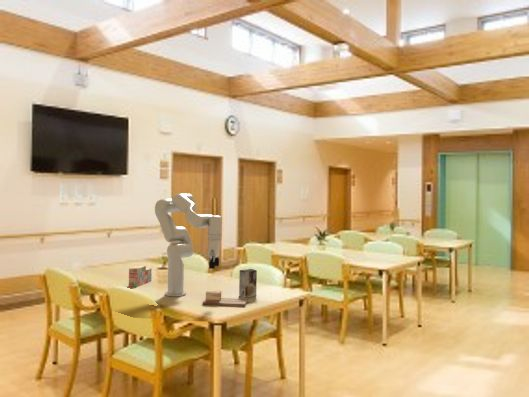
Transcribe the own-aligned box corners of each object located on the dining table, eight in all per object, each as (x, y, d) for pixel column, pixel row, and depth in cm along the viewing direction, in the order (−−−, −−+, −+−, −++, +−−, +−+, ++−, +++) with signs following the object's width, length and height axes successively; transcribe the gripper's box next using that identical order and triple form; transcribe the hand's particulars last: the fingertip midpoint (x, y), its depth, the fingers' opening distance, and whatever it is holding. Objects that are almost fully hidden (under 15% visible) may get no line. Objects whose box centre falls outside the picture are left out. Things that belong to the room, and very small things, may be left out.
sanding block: (207, 298, 272) (207, 290, 271) (221, 299, 271) (221, 290, 271) (205, 300, 267) (205, 292, 267) (219, 301, 266) (219, 292, 266)
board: (207, 299, 275) (207, 297, 275) (247, 301, 273) (247, 299, 273) (202, 304, 263) (202, 302, 263) (244, 306, 261) (244, 304, 261)
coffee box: (249, 294, 293) (250, 268, 293) (256, 296, 289) (257, 270, 288) (238, 296, 287) (239, 269, 287) (245, 298, 283) (245, 271, 282)
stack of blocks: (143, 280, 327) (143, 263, 327) (151, 281, 326) (152, 263, 326) (128, 286, 307) (128, 268, 306) (137, 287, 305) (137, 268, 305)
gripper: (212, 235, 276) (211, 264, 276) (204, 238, 259) (203, 269, 259) (224, 236, 275) (223, 265, 275) (217, 239, 258) (216, 270, 258)
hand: (214, 267), depth 267 cm, fingers open, 9 cm apart
